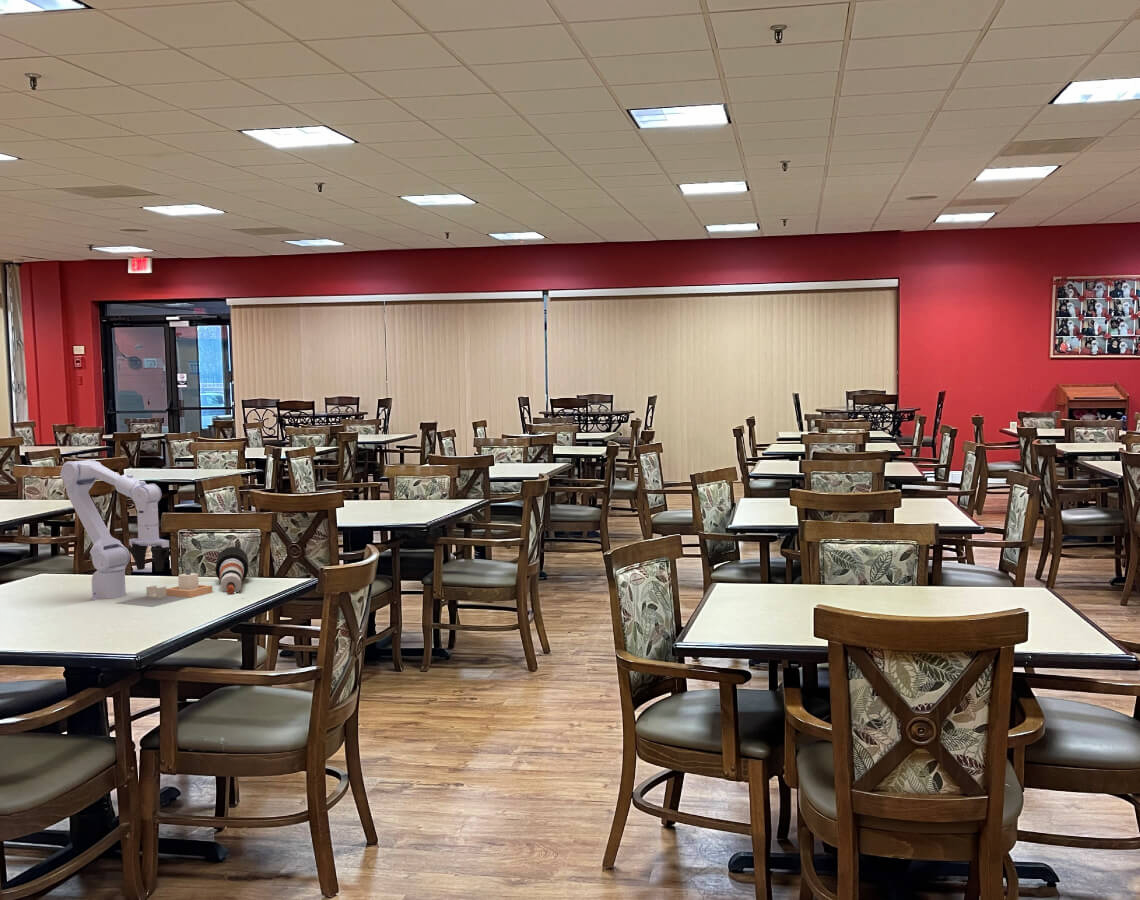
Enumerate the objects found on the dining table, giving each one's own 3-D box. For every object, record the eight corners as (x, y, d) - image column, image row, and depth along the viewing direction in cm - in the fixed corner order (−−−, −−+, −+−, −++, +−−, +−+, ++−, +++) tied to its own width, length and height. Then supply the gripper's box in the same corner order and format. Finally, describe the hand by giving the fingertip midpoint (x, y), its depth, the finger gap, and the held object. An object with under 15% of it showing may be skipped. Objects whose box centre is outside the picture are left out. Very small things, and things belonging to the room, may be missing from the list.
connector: (179, 594, 312) (178, 568, 311) (189, 592, 315) (188, 566, 315) (188, 595, 310) (187, 569, 310) (198, 593, 314) (197, 567, 313)
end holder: (165, 595, 311) (165, 588, 311) (188, 590, 319) (188, 583, 319) (189, 597, 306) (189, 591, 306) (212, 592, 315) (212, 585, 314)
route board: (115, 606, 301) (115, 603, 301) (179, 591, 322) (179, 588, 322) (152, 610, 294) (152, 606, 294) (215, 594, 315) (214, 591, 315)
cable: (223, 612, 311) (206, 585, 308) (226, 581, 343) (210, 556, 340) (254, 595, 313) (237, 568, 310) (254, 566, 345) (238, 541, 342)
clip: (146, 597, 309) (146, 587, 309) (154, 595, 312) (154, 585, 311) (158, 598, 307) (158, 588, 306) (166, 596, 309) (166, 586, 309)
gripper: (119, 525, 306) (121, 570, 306) (154, 527, 299) (156, 573, 300) (139, 522, 312) (141, 567, 313) (173, 524, 306) (175, 569, 306)
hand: (150, 570), depth 307 cm, fingers open, 7 cm apart
